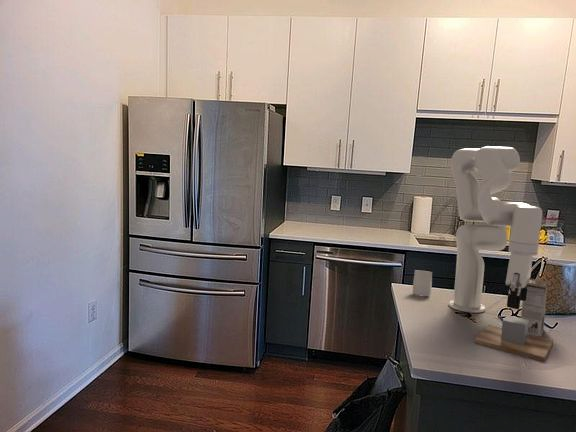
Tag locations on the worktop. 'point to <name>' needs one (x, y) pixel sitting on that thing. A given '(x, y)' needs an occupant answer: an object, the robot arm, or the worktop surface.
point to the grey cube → (515, 330)
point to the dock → (531, 348)
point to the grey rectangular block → (422, 283)
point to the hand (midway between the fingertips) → (516, 303)
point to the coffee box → (535, 306)
